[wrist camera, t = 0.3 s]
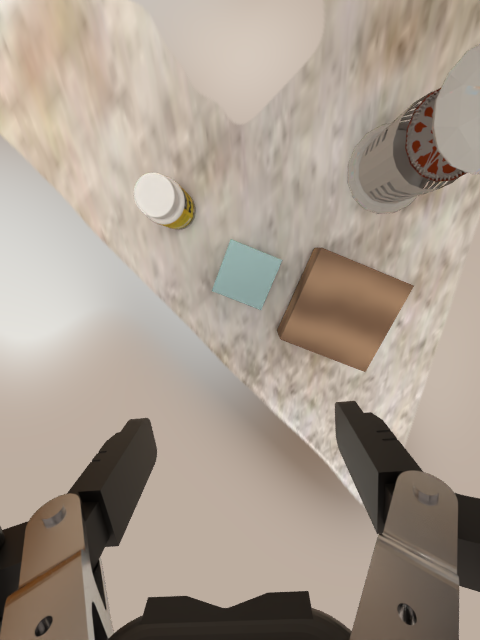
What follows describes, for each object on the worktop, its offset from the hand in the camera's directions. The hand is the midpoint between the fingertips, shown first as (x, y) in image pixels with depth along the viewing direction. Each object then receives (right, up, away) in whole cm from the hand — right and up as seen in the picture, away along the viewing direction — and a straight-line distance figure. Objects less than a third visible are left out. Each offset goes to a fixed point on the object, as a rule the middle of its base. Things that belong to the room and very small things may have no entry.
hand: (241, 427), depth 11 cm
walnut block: (+13, +6, +25) cm, 28 cm away
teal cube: (+1, +11, +23) cm, 26 cm away
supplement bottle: (-8, +19, +22) cm, 30 cm away
